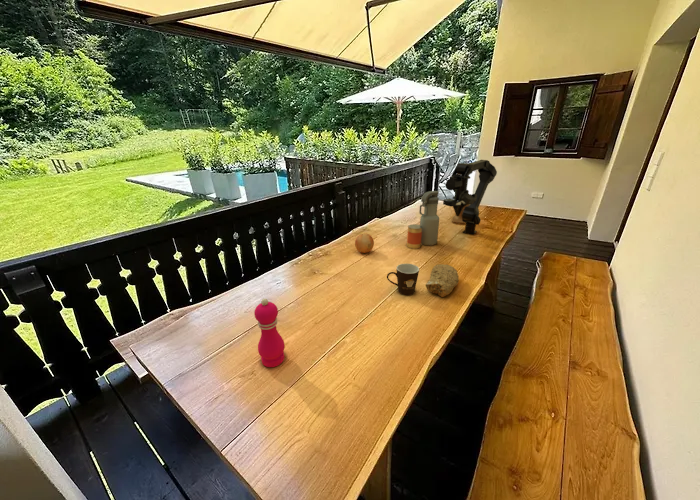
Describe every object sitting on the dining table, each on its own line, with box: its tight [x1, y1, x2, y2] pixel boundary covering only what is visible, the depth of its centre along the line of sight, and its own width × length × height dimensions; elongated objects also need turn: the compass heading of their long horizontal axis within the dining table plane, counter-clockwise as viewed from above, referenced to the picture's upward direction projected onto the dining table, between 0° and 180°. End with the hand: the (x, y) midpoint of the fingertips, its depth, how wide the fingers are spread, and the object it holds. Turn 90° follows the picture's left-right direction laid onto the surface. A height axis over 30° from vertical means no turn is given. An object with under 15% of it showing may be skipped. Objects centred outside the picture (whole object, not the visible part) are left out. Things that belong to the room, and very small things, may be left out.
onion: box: [354, 232, 375, 254], centre depth 152 cm, size 10×10×10 cm
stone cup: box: [450, 204, 470, 224], centre depth 196 cm, size 15×12×15 cm
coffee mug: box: [386, 263, 420, 296], centre depth 117 cm, size 12×9×10 cm
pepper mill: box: [253, 297, 286, 368], centre depth 81 cm, size 7×7×20 cm
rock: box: [425, 263, 460, 298], centre depth 121 cm, size 13×8×20 cm
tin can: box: [406, 223, 422, 250], centre depth 159 cm, size 7×7×11 cm
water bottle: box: [418, 190, 440, 246], centre depth 159 cm, size 10×10×28 cm
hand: (457, 216), depth 166 cm, fingers closed
